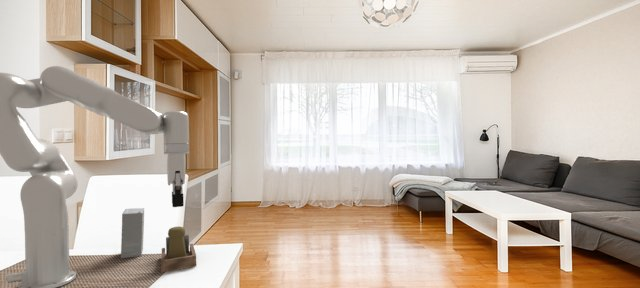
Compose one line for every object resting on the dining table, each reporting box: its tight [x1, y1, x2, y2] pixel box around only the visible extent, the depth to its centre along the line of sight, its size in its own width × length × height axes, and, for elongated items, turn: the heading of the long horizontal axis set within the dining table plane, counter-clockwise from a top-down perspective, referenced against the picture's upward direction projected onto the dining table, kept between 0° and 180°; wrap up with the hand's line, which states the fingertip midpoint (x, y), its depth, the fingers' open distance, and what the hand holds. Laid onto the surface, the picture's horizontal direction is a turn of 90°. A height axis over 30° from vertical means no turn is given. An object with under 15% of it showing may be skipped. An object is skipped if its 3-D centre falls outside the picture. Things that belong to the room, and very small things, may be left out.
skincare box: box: [120, 207, 145, 259], centre depth 114 cm, size 8×7×16 cm
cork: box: [167, 226, 187, 259], centre depth 104 cm, size 6×6×11 cm
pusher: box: [165, 234, 190, 256], centre depth 111 cm, size 7×1×6 cm, turn 116°
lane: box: [160, 243, 197, 273], centre depth 106 cm, size 10×14×3 cm
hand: (177, 204), depth 103 cm, fingers open, 5 cm apart
